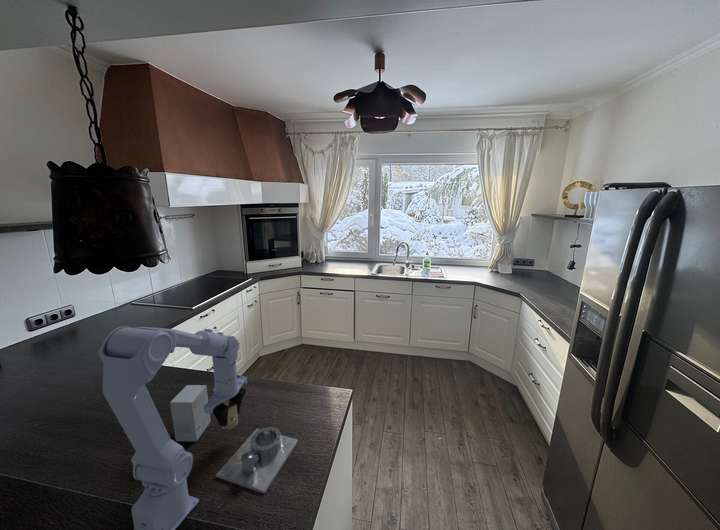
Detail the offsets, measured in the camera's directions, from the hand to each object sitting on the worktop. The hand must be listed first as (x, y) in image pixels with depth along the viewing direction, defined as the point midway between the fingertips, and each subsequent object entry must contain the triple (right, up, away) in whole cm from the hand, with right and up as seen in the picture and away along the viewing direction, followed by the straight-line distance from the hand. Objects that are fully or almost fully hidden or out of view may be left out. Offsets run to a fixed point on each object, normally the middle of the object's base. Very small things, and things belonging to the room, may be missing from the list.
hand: (229, 419), depth 82 cm
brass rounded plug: (0, -2, 0) cm, 2 cm away
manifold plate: (+11, -8, -5) cm, 14 cm away
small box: (-13, -6, +4) cm, 15 cm away
